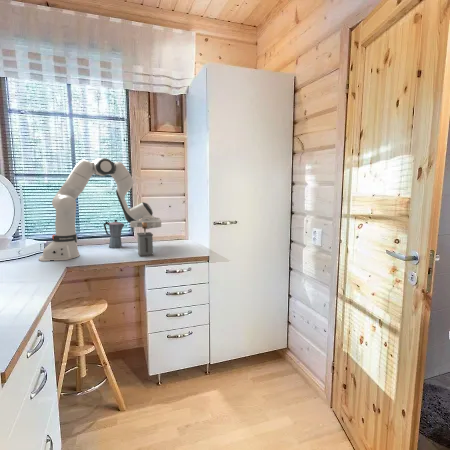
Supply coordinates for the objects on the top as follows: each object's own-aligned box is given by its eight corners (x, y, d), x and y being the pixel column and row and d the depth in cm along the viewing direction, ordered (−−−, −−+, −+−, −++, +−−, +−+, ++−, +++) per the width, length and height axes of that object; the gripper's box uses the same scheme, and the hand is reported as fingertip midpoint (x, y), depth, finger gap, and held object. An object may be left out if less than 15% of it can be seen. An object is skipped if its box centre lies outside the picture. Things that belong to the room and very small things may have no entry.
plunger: (141, 253, 198) (140, 223, 195) (140, 251, 204) (139, 222, 201) (150, 252, 201) (150, 223, 198) (149, 251, 206) (148, 221, 203)
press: (140, 257, 195) (139, 235, 193) (137, 253, 204) (137, 233, 202) (154, 256, 198) (153, 234, 196) (150, 252, 208) (150, 232, 206)
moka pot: (123, 248, 219) (122, 220, 216) (101, 248, 220) (100, 220, 217) (127, 245, 229) (126, 218, 226) (106, 245, 229) (105, 218, 226)
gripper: (131, 218, 212) (128, 221, 199) (161, 217, 215) (160, 220, 201) (131, 227, 213) (128, 230, 199) (162, 226, 216) (160, 230, 202)
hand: (144, 225), depth 200 cm, fingers open, 8 cm apart
